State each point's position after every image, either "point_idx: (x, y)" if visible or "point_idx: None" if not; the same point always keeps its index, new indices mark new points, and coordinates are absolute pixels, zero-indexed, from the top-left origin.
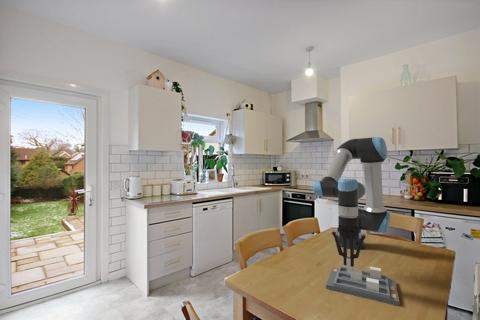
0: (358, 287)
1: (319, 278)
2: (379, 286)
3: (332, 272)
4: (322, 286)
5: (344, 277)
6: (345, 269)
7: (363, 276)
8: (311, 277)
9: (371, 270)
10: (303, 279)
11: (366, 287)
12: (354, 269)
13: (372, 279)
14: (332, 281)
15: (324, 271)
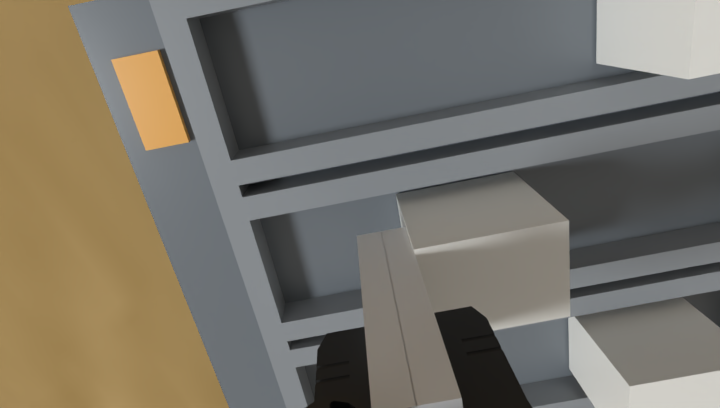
0: (497, 336)
1: (103, 296)
2: (703, 274)
3: (158, 185)
4: (210, 402)
5: (325, 221)
6: (259, 3)
7: (536, 126)
8: (36, 325)
9: (700, 70)
10: (16, 399)
11: (589, 396)
12: (465, 259)
13: (694, 390)
14: (263, 375)
15: (27, 95)
